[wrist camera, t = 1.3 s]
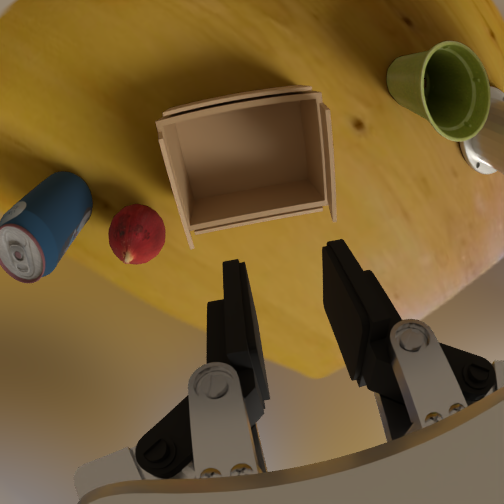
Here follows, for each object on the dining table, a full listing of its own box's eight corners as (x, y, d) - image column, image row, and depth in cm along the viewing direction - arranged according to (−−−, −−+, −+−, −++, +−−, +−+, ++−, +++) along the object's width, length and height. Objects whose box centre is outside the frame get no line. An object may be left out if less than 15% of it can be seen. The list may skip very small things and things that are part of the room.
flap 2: (332, 222, 22) (336, 221, 22) (325, 109, 17) (329, 109, 17) (327, 199, 25) (330, 199, 25) (319, 102, 21) (322, 102, 21)
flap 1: (163, 138, 17) (158, 139, 17) (194, 248, 22) (190, 249, 22) (161, 130, 21) (158, 132, 21) (187, 225, 25) (184, 226, 25)
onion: (112, 200, 30) (86, 237, 23) (160, 186, 30) (144, 222, 23) (130, 244, 33) (112, 288, 26) (176, 234, 33) (166, 278, 26)
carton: (301, 83, 25) (320, 85, 20) (312, 186, 31) (330, 210, 26) (166, 107, 25) (153, 115, 20) (192, 208, 32) (187, 237, 27)
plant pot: (435, 45, 22) (488, 48, 15) (441, 120, 28) (491, 140, 20) (366, 40, 23) (414, 35, 16) (377, 124, 28) (423, 144, 21)
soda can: (42, 168, 26) (-20, 218, 16) (94, 166, 28) (39, 219, 18) (50, 222, 30) (1, 285, 20) (99, 224, 31) (58, 292, 21)
